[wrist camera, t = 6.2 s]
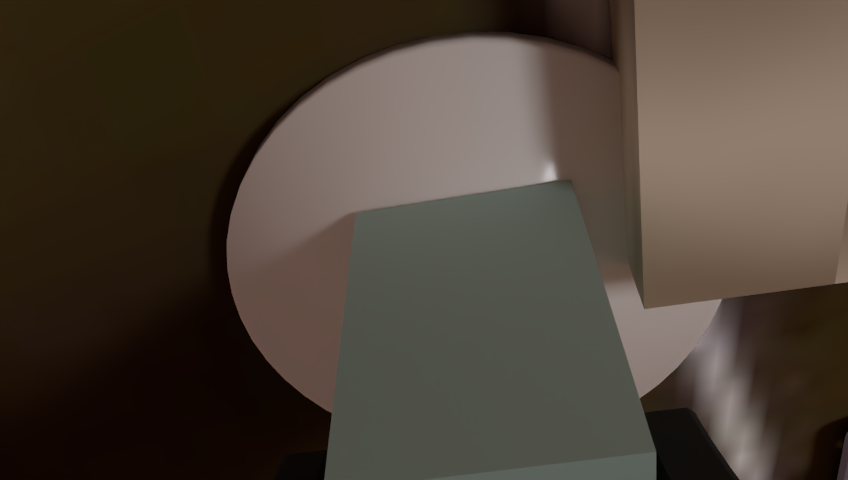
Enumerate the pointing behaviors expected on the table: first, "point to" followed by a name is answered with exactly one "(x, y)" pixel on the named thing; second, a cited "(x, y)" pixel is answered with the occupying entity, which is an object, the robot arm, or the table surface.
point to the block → (483, 348)
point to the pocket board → (733, 145)
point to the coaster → (433, 185)
